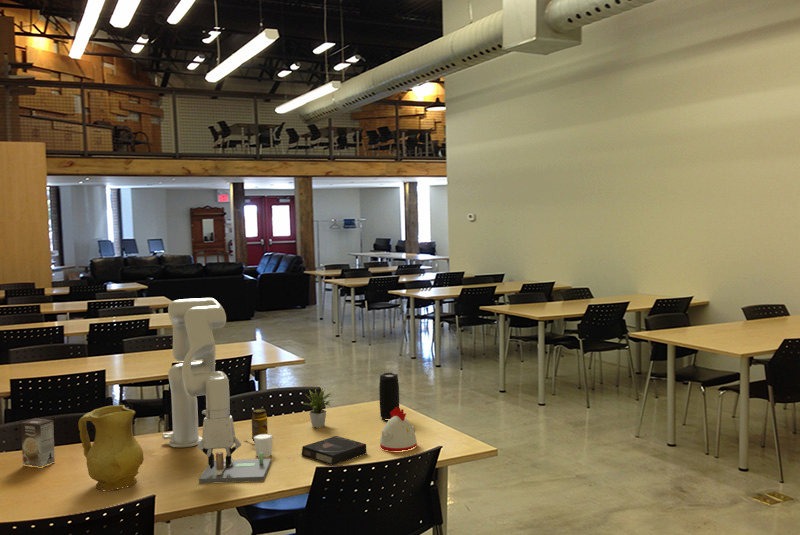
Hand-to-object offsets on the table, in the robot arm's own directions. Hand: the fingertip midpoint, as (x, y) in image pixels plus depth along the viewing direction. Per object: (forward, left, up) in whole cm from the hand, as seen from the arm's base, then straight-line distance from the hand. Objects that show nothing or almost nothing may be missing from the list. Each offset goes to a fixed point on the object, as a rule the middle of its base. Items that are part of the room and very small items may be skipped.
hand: (220, 466), depth 225 cm
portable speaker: (+59, +66, -4) cm, 88 cm away
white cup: (+11, +23, -4) cm, 25 cm away
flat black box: (+37, +20, -5) cm, 42 cm away
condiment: (+6, +41, -4) cm, 41 cm away
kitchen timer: (+61, +27, -4) cm, 67 cm away
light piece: (0, +4, -2) cm, 4 cm away
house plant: (+29, +57, -4) cm, 64 cm away
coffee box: (-69, +21, -4) cm, 72 cm away
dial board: (+4, +5, -4) cm, 7 cm away
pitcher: (-34, -1, -4) cm, 34 cm away
